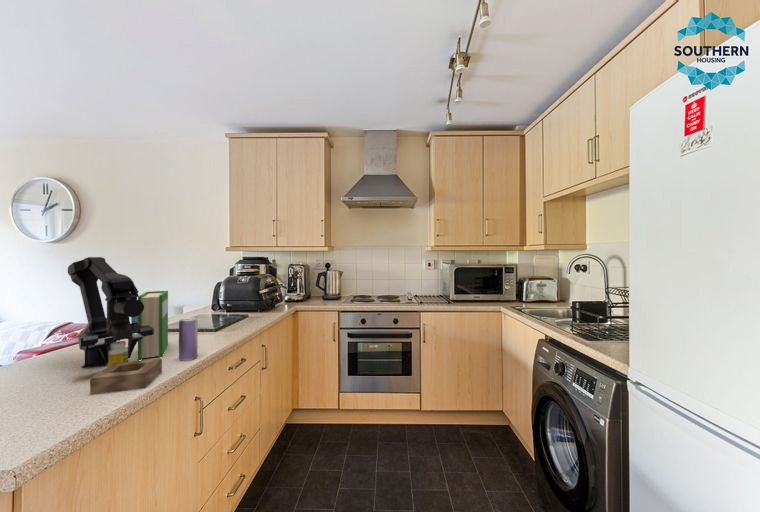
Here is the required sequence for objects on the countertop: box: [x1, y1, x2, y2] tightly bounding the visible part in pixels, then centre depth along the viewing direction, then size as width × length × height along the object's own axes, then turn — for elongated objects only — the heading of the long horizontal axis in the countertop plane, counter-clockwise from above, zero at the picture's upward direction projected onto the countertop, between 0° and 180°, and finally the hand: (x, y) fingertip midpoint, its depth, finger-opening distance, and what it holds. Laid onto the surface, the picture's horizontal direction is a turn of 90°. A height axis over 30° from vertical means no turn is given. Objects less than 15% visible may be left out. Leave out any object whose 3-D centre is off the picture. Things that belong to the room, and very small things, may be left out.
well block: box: [89, 358, 163, 395], centre depth 92 cm, size 13×13×4 cm
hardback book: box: [137, 290, 169, 361], centre depth 121 cm, size 18×7×24 cm, turn 30°
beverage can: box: [178, 317, 199, 361], centre depth 114 cm, size 6×6×15 cm
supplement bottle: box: [106, 340, 129, 368], centre depth 102 cm, size 5×5×10 cm
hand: (118, 360), depth 102 cm, fingers closed on supplement bottle, 5 cm apart
